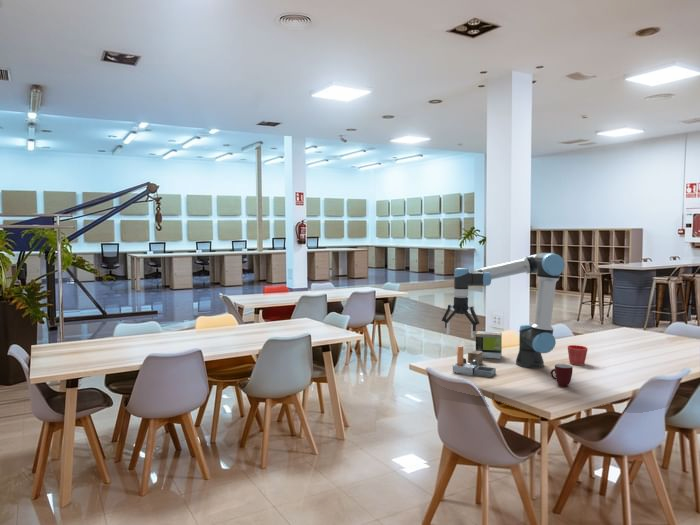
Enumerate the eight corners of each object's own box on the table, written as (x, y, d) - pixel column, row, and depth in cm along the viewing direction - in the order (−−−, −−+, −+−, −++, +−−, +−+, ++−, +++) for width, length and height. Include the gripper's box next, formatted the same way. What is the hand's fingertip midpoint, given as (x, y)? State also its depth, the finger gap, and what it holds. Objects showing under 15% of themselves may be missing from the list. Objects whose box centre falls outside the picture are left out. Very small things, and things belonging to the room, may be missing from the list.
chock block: (482, 363, 302) (482, 351, 301) (478, 366, 295) (478, 353, 294) (472, 361, 305) (472, 350, 304) (467, 364, 298) (468, 352, 297)
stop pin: (463, 371, 282) (464, 346, 281) (462, 373, 279) (462, 347, 279) (458, 370, 284) (458, 345, 283) (456, 372, 281) (456, 346, 280)
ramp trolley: (479, 370, 286) (480, 359, 285) (472, 375, 274) (472, 364, 274) (460, 367, 291) (460, 356, 291) (452, 372, 280) (452, 361, 280)
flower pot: (587, 362, 303) (587, 345, 303) (587, 366, 293) (587, 349, 293) (567, 360, 308) (567, 344, 307) (566, 364, 298) (567, 348, 297)
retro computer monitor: (501, 355, 320) (502, 331, 319) (500, 359, 311) (501, 334, 310) (476, 353, 325) (477, 330, 324) (475, 357, 315) (475, 333, 315)
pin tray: (495, 373, 278) (495, 368, 278) (491, 377, 270) (491, 371, 270) (479, 371, 283) (479, 365, 283) (474, 375, 275) (474, 369, 275)
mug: (546, 385, 257) (547, 365, 256) (553, 381, 263) (553, 362, 262) (568, 389, 250) (569, 368, 249) (574, 385, 256) (575, 365, 255)
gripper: (485, 297, 276) (484, 337, 277) (441, 294, 289) (440, 332, 290) (481, 299, 270) (480, 339, 271) (436, 295, 282) (435, 334, 284)
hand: (460, 335), depth 280 cm, fingers open, 13 cm apart
